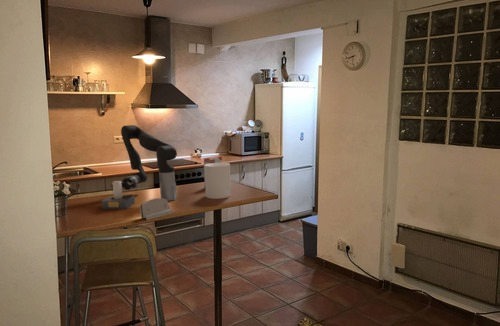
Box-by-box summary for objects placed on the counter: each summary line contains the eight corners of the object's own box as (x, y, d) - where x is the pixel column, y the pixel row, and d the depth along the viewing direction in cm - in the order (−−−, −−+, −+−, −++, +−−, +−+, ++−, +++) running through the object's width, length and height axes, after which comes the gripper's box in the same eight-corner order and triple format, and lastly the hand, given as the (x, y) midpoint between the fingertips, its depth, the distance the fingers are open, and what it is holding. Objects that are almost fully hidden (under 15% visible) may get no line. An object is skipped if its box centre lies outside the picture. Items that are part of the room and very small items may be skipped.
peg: (124, 204, 238) (122, 180, 236) (121, 206, 234) (119, 182, 232) (116, 204, 239) (114, 180, 237) (113, 206, 234) (111, 182, 232)
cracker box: (211, 188, 279) (209, 158, 276) (204, 187, 283) (202, 158, 280) (223, 184, 291) (222, 155, 288) (216, 184, 294) (215, 155, 291)
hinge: (146, 220, 205) (141, 201, 206) (141, 221, 208) (136, 203, 209) (173, 213, 217) (168, 195, 218) (168, 214, 220) (163, 197, 221)
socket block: (134, 203, 243) (134, 195, 242) (125, 209, 228) (125, 200, 228) (112, 203, 244) (111, 195, 243) (101, 209, 230) (101, 201, 229)
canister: (203, 194, 261) (202, 163, 258) (227, 192, 265) (226, 161, 263) (208, 199, 246) (207, 167, 243) (234, 197, 250) (232, 165, 248)
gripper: (118, 176, 254) (107, 181, 238) (140, 176, 253) (131, 181, 237) (119, 188, 255) (108, 194, 239) (141, 188, 254) (132, 193, 238)
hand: (119, 187), depth 238 cm, fingers open, 8 cm apart
